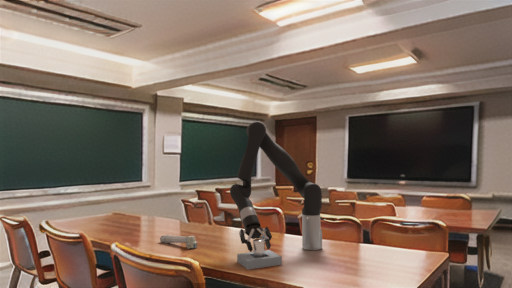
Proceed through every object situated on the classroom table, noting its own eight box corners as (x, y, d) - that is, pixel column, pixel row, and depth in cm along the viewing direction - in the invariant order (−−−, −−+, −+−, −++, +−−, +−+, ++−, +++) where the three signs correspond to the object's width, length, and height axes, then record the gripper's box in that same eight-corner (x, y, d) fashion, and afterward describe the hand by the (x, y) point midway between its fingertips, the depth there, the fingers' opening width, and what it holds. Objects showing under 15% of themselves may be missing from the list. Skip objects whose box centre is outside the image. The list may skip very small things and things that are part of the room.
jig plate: (269, 257, 164) (269, 249, 164) (281, 264, 153) (281, 256, 153) (237, 261, 157) (237, 253, 157) (247, 269, 146) (247, 261, 146)
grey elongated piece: (166, 234, 198) (198, 233, 184) (167, 246, 197) (199, 246, 183) (158, 236, 194) (191, 235, 179) (159, 248, 193) (192, 248, 178)
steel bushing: (261, 261, 159) (261, 238, 159) (266, 264, 154) (266, 240, 154) (251, 262, 156) (251, 239, 157) (256, 265, 152) (256, 242, 152)
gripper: (237, 215, 160) (247, 246, 149) (265, 213, 166) (277, 242, 155) (233, 225, 165) (243, 256, 154) (261, 222, 170) (272, 252, 160)
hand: (260, 249), depth 154 cm, fingers open, 8 cm apart
